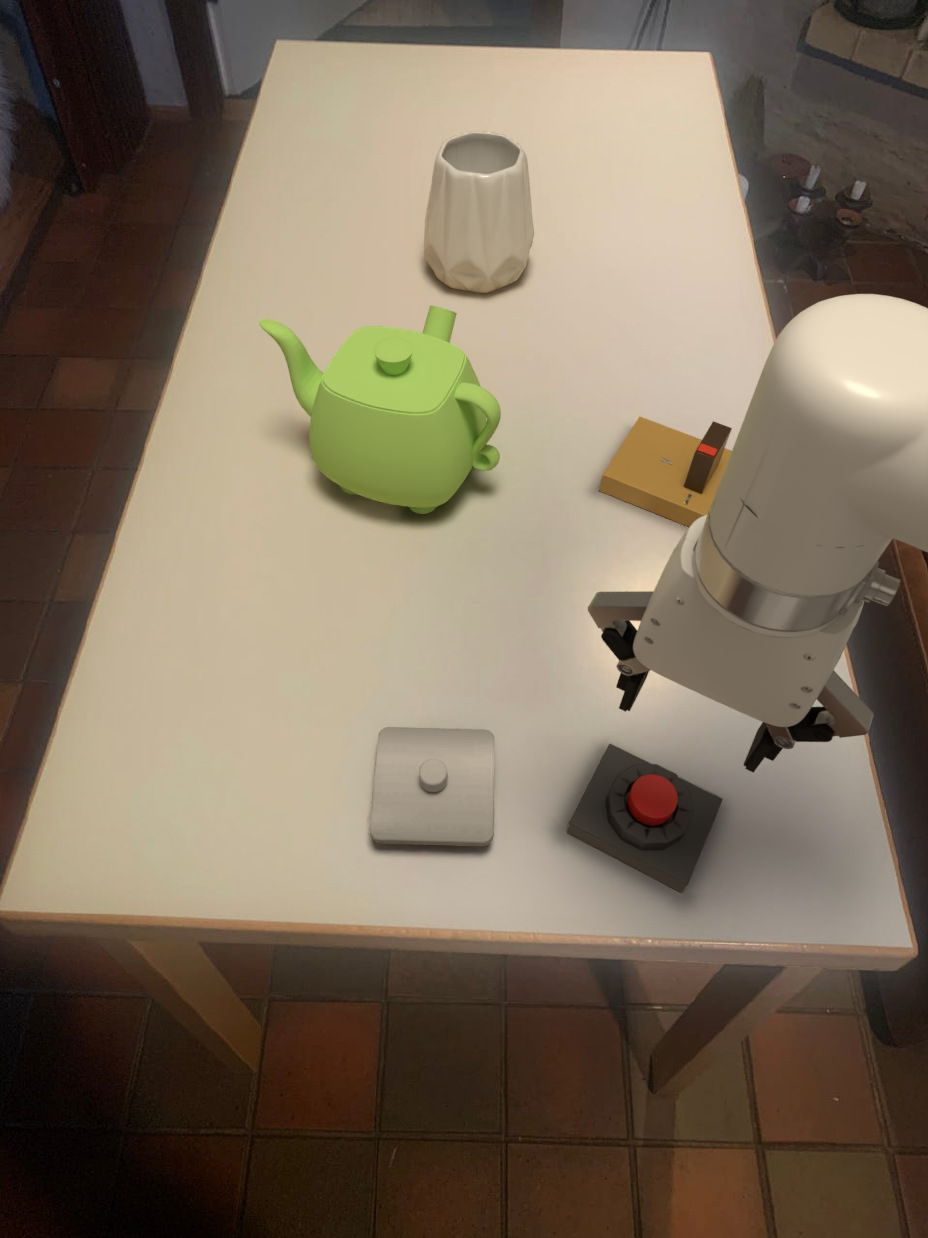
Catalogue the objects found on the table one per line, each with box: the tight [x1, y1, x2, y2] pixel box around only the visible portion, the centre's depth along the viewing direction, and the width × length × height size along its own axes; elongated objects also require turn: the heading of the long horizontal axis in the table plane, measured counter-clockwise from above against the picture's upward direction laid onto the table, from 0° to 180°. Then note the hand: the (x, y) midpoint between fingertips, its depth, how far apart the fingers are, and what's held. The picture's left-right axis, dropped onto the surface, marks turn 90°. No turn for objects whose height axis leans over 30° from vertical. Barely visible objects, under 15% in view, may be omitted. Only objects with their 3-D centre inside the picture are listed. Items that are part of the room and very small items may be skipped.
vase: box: [423, 130, 535, 294], centre depth 105 cm, size 14×14×15 cm
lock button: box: [628, 774, 678, 826], centre depth 65 cm, size 4×4×2 cm
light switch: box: [369, 726, 495, 847], centre depth 68 cm, size 10×10×5 cm
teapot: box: [258, 305, 502, 515], centre depth 86 cm, size 25×22×16 cm
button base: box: [566, 743, 723, 893], centre depth 68 cm, size 10×8×4 cm
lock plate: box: [599, 416, 732, 528], centre depth 89 cm, size 14×10×3 cm
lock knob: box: [684, 420, 733, 494], centre depth 85 cm, size 5×2×5 cm, turn 150°
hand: (692, 721), depth 54 cm, fingers open, 7 cm apart
